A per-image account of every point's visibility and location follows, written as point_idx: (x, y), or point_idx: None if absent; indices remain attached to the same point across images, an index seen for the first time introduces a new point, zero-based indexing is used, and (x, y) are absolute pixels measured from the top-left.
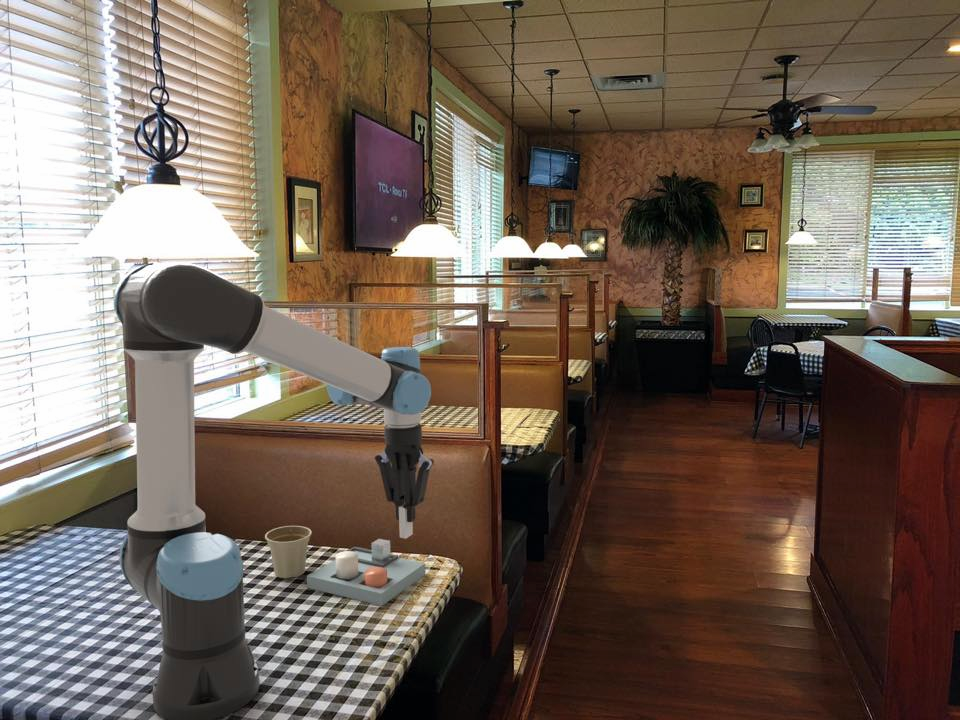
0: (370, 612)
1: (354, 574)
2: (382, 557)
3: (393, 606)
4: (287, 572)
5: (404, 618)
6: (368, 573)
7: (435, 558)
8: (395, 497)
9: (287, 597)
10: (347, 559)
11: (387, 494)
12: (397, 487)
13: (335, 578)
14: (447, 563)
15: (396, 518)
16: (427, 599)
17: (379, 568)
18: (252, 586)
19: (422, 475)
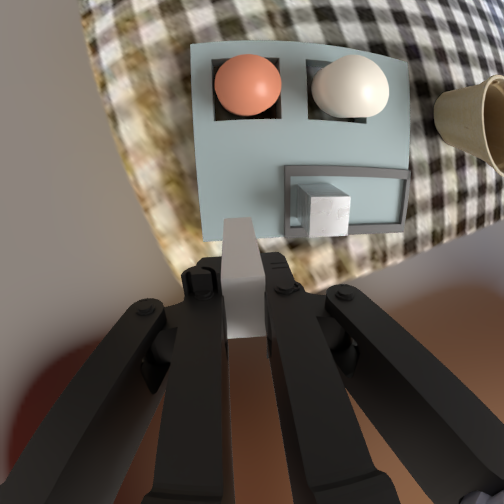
0: (199, 22)
1: (313, 81)
2: (301, 187)
3: (170, 65)
4: (449, 91)
5: (121, 45)
6: (259, 64)
7: None
8: (301, 310)
9: (392, 23)
10: (339, 59)
11: (367, 309)
12: (296, 369)
13: None
14: None
15: (282, 255)
16: (126, 132)
17: (252, 105)
18: (459, 55)
19: (15, 465)
